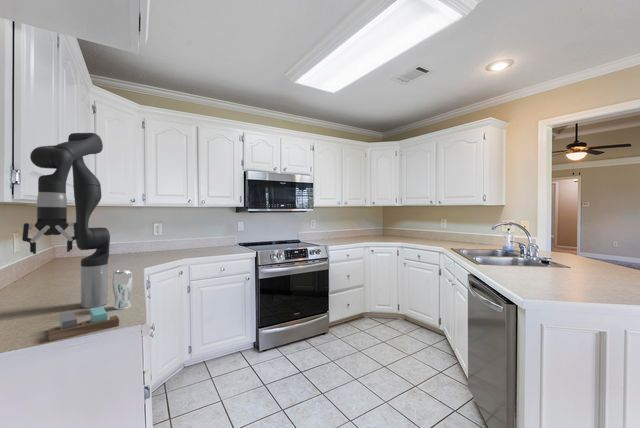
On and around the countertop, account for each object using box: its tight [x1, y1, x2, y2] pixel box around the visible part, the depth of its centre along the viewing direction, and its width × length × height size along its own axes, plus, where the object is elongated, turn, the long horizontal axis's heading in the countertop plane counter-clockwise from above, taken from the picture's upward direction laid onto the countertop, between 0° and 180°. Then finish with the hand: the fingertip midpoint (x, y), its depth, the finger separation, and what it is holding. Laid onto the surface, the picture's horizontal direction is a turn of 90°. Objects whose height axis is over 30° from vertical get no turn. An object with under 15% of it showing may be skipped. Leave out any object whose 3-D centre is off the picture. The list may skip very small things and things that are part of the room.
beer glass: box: [112, 269, 134, 311], centre depth 120 cm, size 7×7×15 cm
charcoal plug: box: [59, 311, 78, 330], centre depth 97 cm, size 12×4×5 cm, turn 45°
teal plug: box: [89, 305, 108, 323], centre depth 103 cm, size 12×4×5 cm, turn 45°
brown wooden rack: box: [47, 314, 120, 343], centre depth 96 cm, size 5×18×2 cm, turn 135°
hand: (52, 252), depth 98 cm, fingers open, 8 cm apart
